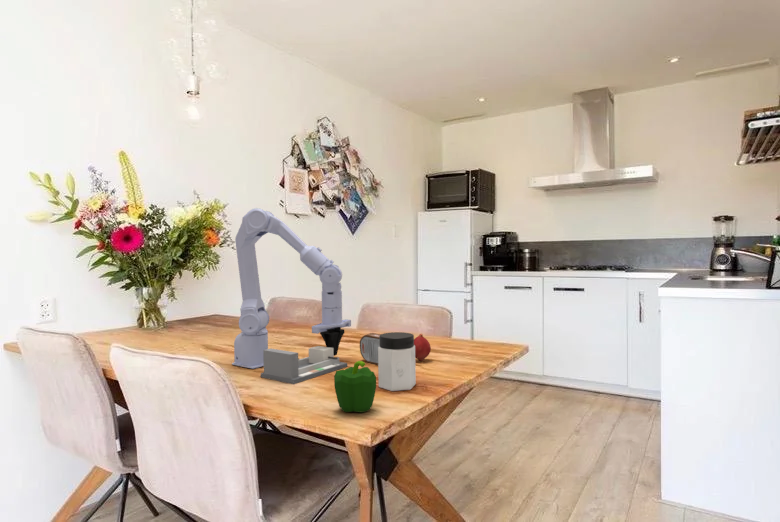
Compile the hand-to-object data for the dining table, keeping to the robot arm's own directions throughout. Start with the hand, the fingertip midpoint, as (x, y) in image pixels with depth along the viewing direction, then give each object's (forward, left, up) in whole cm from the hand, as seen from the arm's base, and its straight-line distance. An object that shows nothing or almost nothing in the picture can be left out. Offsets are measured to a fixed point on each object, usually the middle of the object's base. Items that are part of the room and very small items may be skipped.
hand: (332, 355), depth 132 cm
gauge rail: (0, -11, -2) cm, 11 cm away
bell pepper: (+30, -27, -3) cm, 40 cm away
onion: (+20, +15, -3) cm, 25 cm away
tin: (+12, +6, -3) cm, 14 cm away
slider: (+2, -5, -1) cm, 5 cm away
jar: (+28, -9, -3) cm, 29 cm away
